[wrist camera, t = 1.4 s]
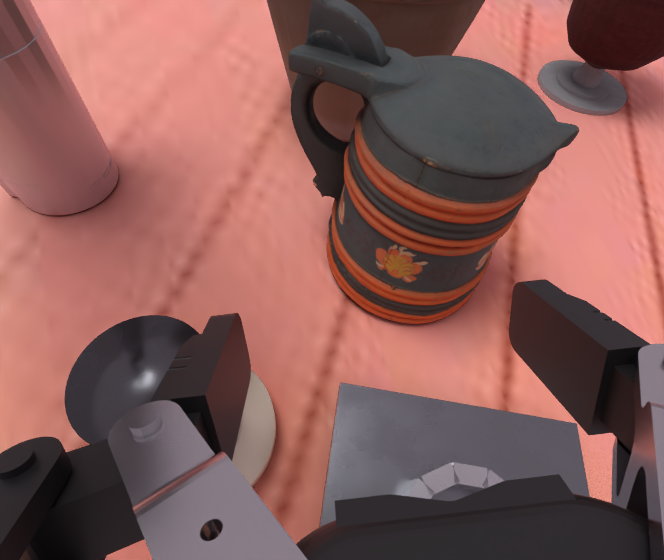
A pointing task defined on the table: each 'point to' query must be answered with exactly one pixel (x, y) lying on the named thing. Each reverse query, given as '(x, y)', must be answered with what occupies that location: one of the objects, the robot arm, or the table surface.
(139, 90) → the table surface
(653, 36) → the mate gourd
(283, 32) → the plant pot
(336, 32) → the beer stein
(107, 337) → the glass jar with lid
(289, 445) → the table surface
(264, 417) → the pedestal
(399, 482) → the hub plate
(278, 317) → the table surface
